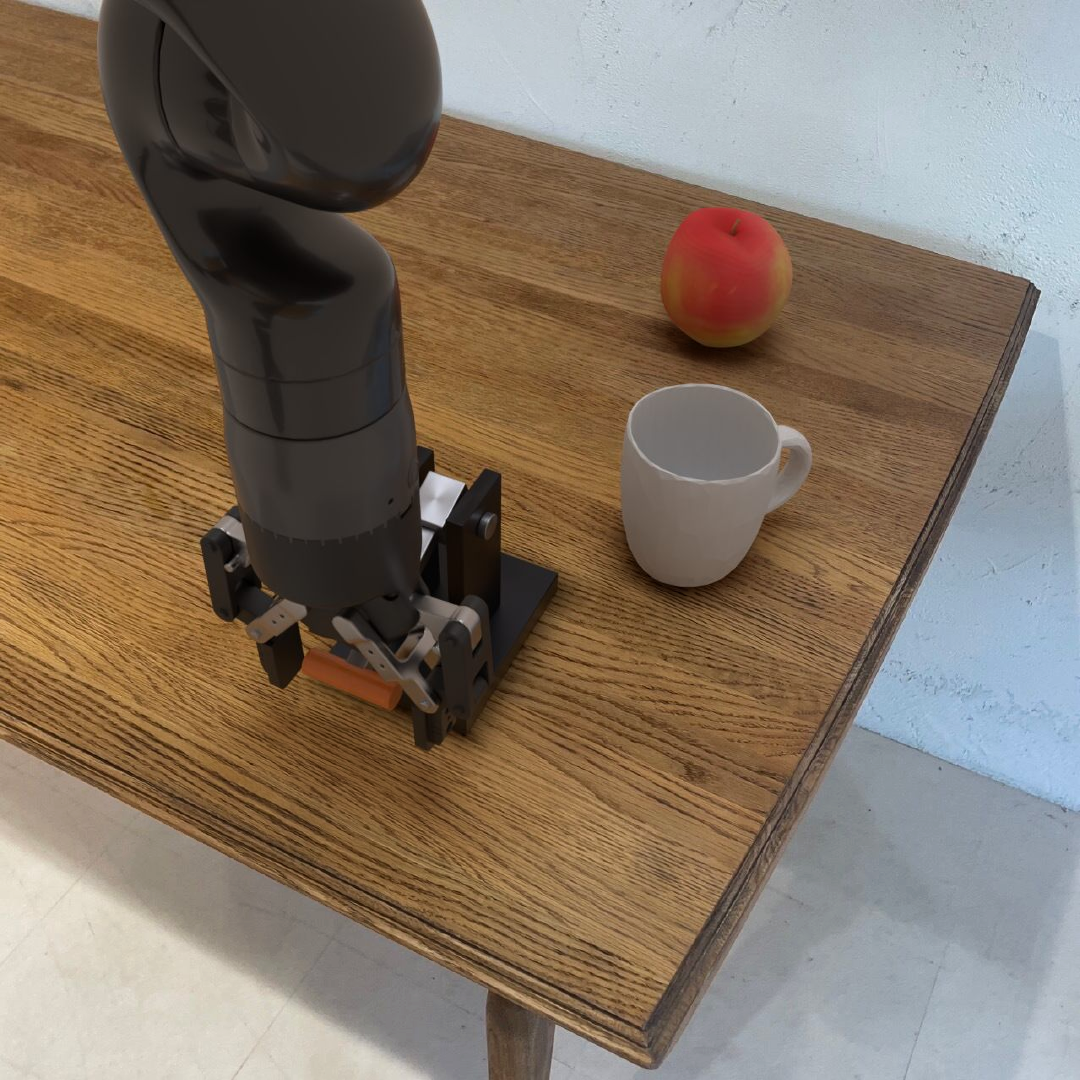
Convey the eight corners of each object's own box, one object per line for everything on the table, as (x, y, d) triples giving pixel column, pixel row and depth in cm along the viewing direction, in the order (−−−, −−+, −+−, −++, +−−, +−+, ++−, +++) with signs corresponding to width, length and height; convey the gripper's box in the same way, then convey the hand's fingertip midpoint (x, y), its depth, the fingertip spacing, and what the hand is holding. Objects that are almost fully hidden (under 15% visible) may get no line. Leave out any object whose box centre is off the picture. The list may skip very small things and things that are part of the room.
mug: (655, 622, 68) (675, 500, 61) (588, 525, 73) (598, 403, 66) (831, 561, 72) (869, 440, 65) (754, 473, 78) (781, 353, 70)
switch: (395, 716, 56) (383, 702, 54) (309, 680, 58) (294, 665, 56) (497, 512, 61) (490, 491, 58) (415, 482, 62) (405, 461, 60)
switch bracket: (466, 736, 62) (462, 590, 53) (325, 677, 64) (299, 529, 56) (558, 589, 70) (567, 441, 61) (428, 541, 72) (420, 393, 64)
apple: (696, 386, 84) (715, 268, 77) (630, 318, 90) (642, 203, 83) (802, 353, 87) (829, 237, 80) (732, 290, 93) (751, 176, 86)
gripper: (127, 471, 46) (199, 708, 58) (434, 588, 42) (446, 818, 54) (236, 372, 51) (283, 609, 63) (522, 468, 47) (516, 702, 59)
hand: (359, 705), depth 58 cm, fingers open, 8 cm apart
